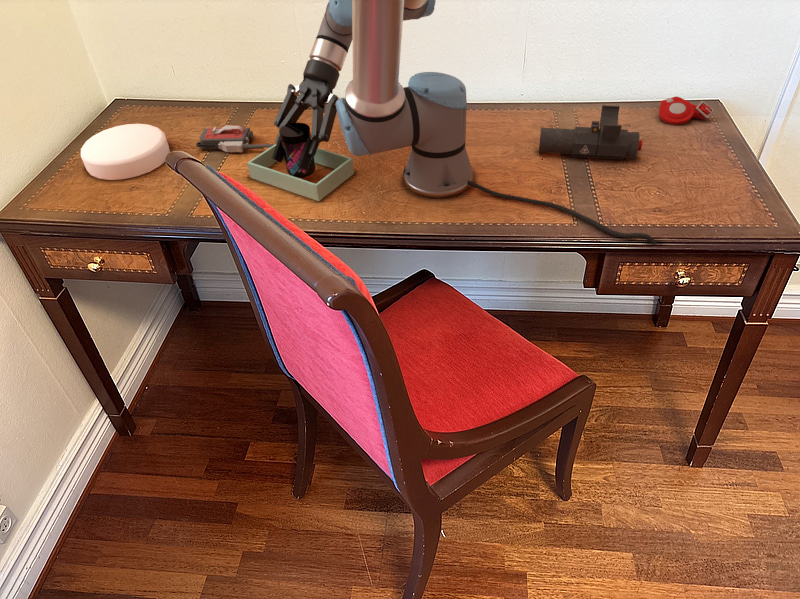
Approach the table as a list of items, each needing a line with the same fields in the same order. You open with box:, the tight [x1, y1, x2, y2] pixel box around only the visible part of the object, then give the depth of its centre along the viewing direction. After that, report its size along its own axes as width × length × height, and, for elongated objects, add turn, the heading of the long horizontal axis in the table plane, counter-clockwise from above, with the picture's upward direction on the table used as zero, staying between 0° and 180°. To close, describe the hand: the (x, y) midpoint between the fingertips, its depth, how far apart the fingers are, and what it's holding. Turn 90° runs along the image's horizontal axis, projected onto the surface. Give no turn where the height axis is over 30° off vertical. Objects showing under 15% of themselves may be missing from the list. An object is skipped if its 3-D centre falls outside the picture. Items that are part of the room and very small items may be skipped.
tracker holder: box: [658, 96, 715, 126], centre depth 156 cm, size 12×4×10 cm
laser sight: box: [538, 104, 643, 161], centre depth 142 cm, size 10×22×10 cm, turn 78°
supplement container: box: [278, 122, 317, 179], centre depth 140 cm, size 7×7×10 cm
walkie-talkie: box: [195, 124, 275, 153], centre depth 155 cm, size 9×4×20 cm
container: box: [80, 123, 171, 181], centre depth 153 cm, size 20×20×5 cm
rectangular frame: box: [246, 143, 355, 202], centre depth 143 cm, size 20×13×4 cm, turn 57°
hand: (289, 164), depth 139 cm, fingers closed on supplement container, 7 cm apart
